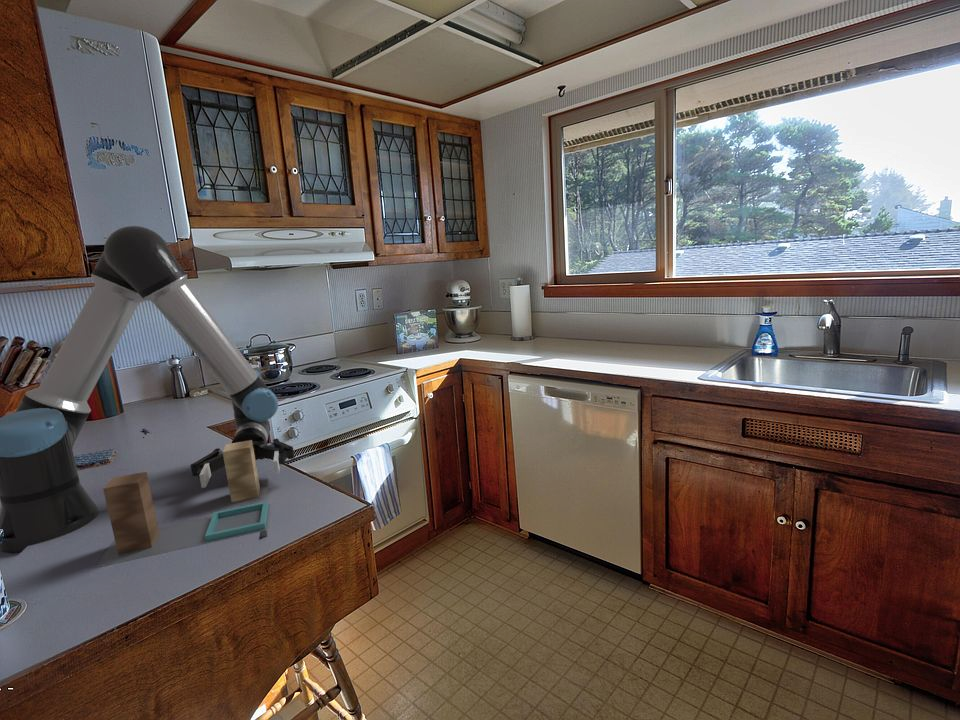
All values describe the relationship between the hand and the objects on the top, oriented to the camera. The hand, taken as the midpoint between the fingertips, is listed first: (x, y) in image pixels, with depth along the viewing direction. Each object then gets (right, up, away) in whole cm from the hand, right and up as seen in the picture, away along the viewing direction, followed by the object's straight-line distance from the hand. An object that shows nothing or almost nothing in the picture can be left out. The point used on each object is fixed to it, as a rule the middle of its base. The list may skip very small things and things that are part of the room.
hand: (240, 474), depth 102 cm
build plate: (-4, -9, -10) cm, 15 cm away
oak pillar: (0, -6, +4) cm, 8 cm away
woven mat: (-57, -6, +36) cm, 68 cm away
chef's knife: (-55, -2, +56) cm, 79 cm away
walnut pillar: (-11, -9, -13) cm, 20 cm away
